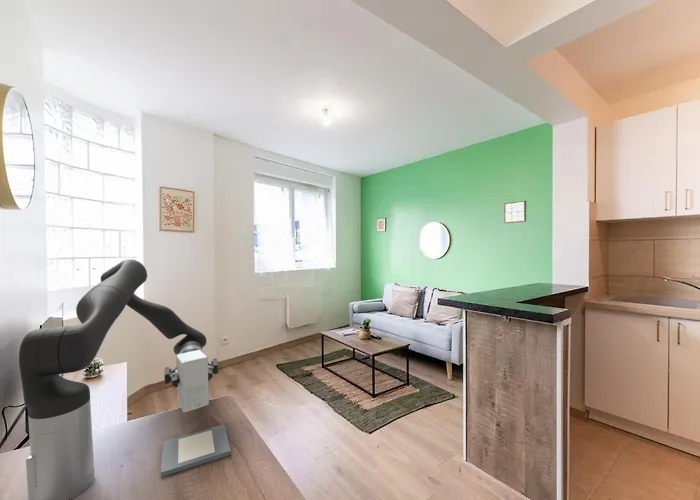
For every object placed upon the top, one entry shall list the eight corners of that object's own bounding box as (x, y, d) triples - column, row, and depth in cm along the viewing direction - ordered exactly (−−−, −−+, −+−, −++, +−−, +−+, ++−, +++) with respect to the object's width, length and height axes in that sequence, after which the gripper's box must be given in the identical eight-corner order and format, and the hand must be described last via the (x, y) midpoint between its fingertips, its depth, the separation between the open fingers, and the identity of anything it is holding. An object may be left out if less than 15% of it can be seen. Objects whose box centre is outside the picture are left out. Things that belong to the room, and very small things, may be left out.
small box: (209, 405, 84) (208, 356, 84) (183, 413, 80) (181, 363, 80) (201, 393, 91) (200, 349, 90) (177, 401, 87) (175, 354, 86)
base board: (160, 477, 67) (160, 472, 67) (163, 444, 78) (163, 440, 77) (230, 454, 74) (230, 450, 73) (224, 427, 84) (224, 423, 84)
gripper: (164, 352, 94) (160, 372, 80) (215, 344, 101) (221, 361, 87) (165, 377, 95) (161, 401, 80) (216, 367, 101) (222, 388, 87)
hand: (192, 380), depth 83 cm, fingers closed on small box, 7 cm apart
